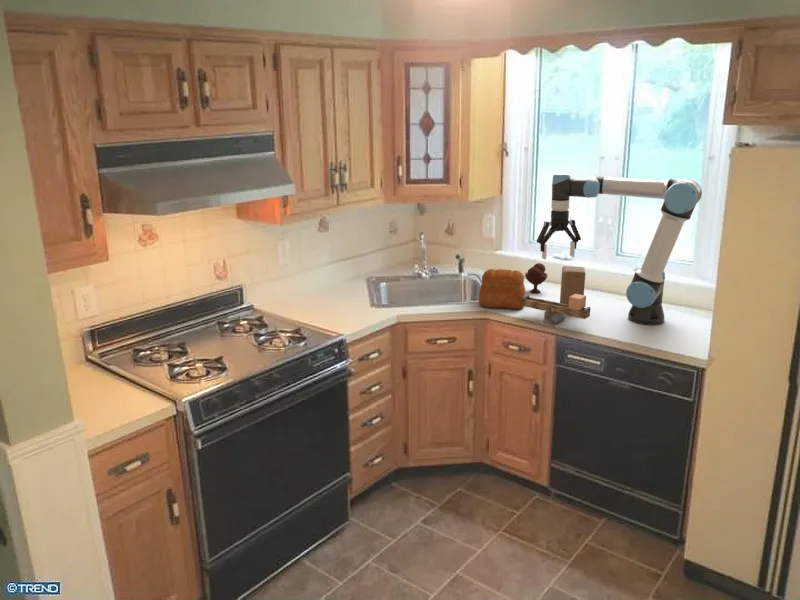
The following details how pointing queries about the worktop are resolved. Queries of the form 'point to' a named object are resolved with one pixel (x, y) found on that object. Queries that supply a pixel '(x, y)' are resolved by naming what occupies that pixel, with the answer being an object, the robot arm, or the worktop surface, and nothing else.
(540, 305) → the beam
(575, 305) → the block
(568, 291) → the wooden block
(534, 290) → the ice cream bowl
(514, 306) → the bread
